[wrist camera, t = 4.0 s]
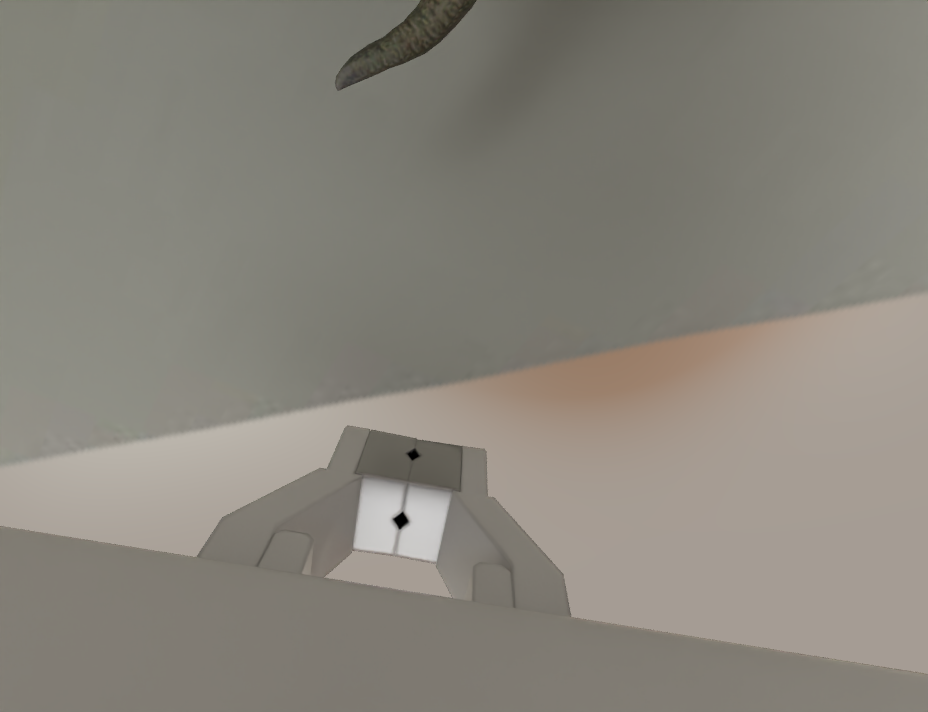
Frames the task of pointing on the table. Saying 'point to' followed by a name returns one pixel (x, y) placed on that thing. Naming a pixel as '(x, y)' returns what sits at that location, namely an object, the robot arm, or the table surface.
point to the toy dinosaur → (405, 40)
